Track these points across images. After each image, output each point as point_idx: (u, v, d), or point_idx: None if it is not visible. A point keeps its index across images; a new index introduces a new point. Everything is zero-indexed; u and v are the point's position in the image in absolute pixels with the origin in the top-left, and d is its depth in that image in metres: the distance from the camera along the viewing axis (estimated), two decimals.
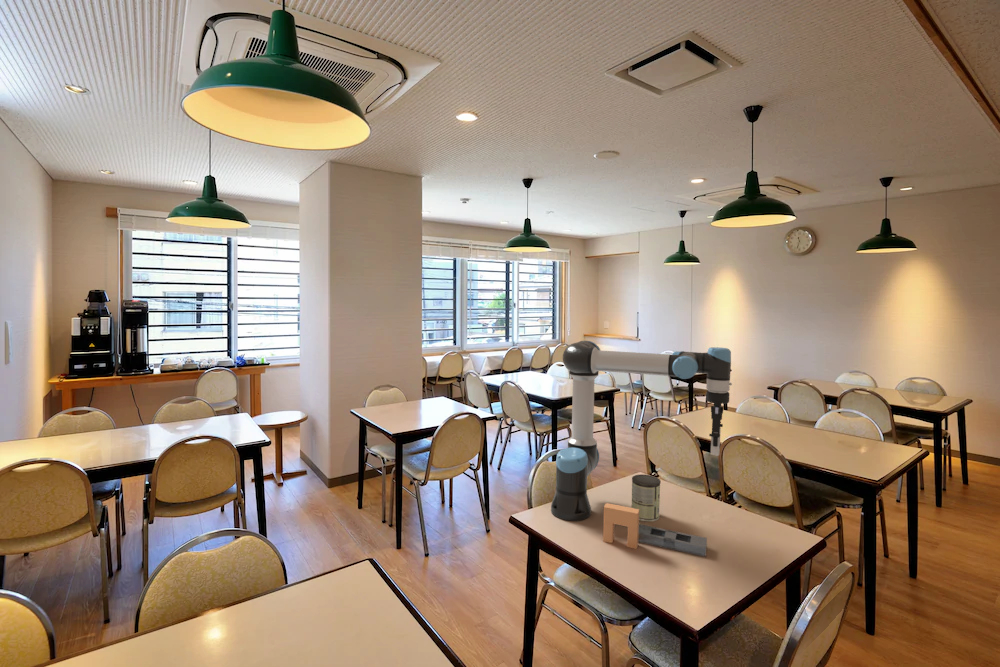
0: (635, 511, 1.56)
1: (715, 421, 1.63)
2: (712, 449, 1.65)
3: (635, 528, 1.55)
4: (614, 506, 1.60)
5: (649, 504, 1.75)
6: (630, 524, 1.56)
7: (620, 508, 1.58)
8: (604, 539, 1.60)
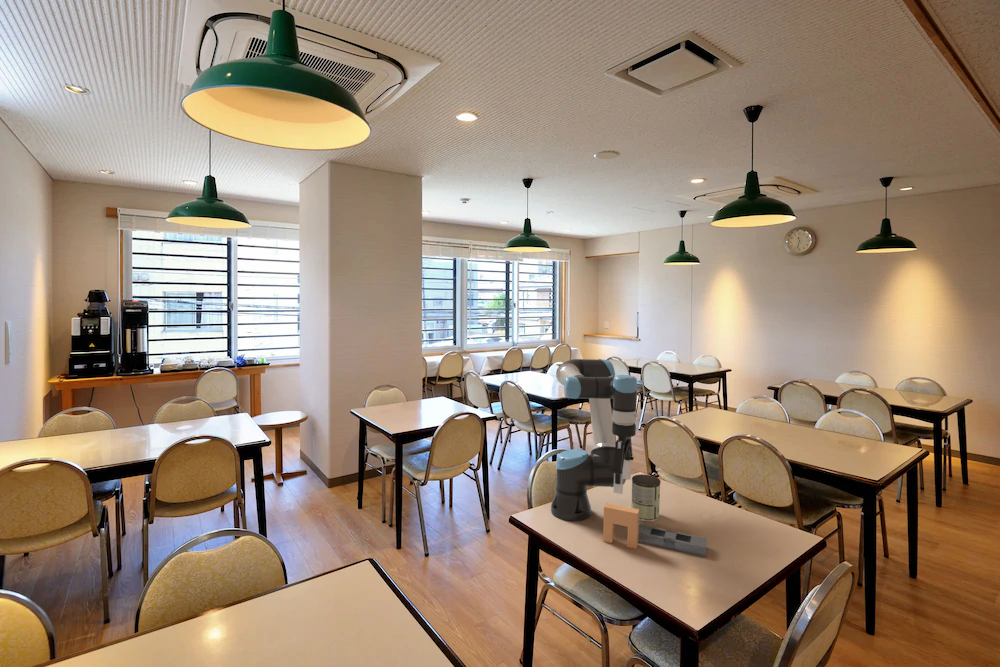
0: (635, 511, 1.56)
1: (617, 457, 1.50)
2: (615, 487, 1.52)
3: (635, 528, 1.55)
4: (614, 506, 1.60)
5: (649, 504, 1.75)
6: (630, 524, 1.56)
7: (620, 508, 1.58)
8: (604, 539, 1.60)
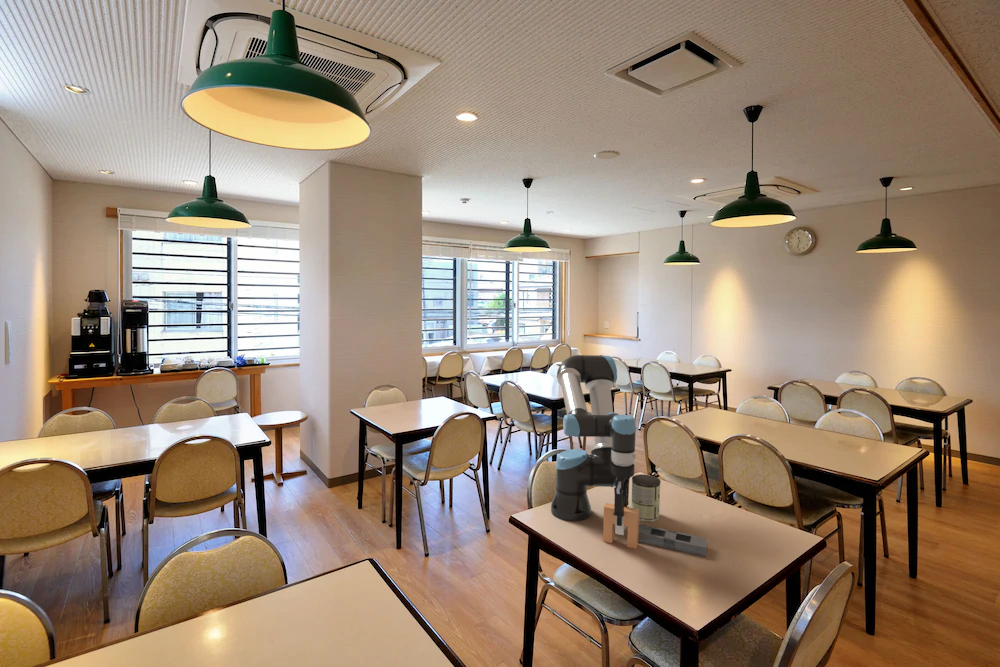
0: (635, 511, 1.56)
1: (617, 502, 1.53)
2: (617, 528, 1.57)
3: (635, 528, 1.55)
4: None
5: (649, 504, 1.75)
6: (630, 524, 1.56)
7: None
8: (604, 539, 1.60)
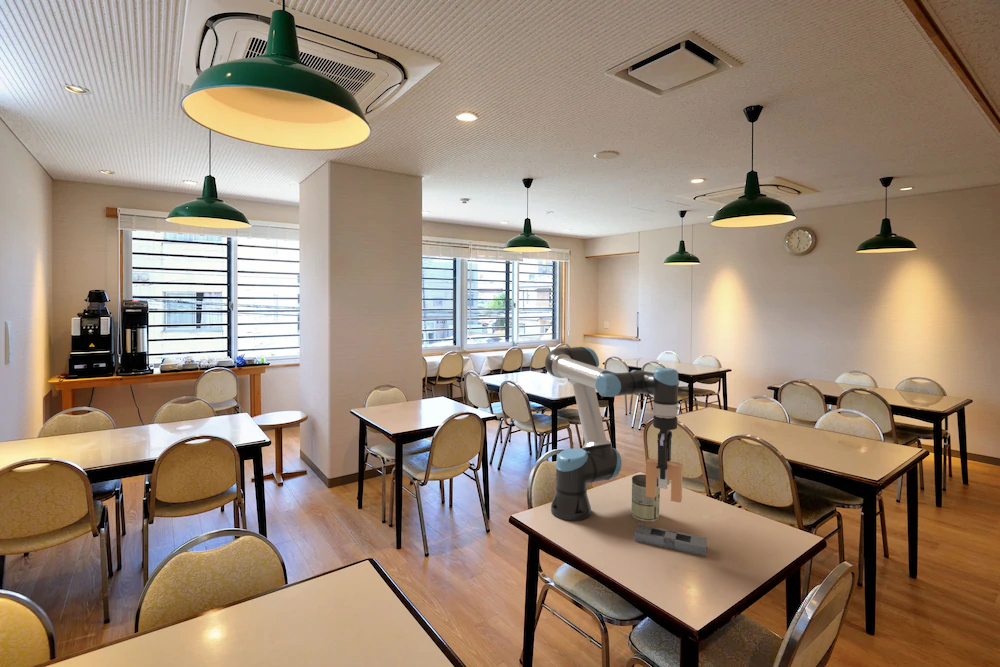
0: (679, 464, 1.54)
1: (661, 454, 1.52)
2: (660, 482, 1.55)
3: (679, 481, 1.53)
4: (656, 460, 1.58)
5: (649, 504, 1.75)
6: (674, 477, 1.54)
7: None
8: (647, 494, 1.58)
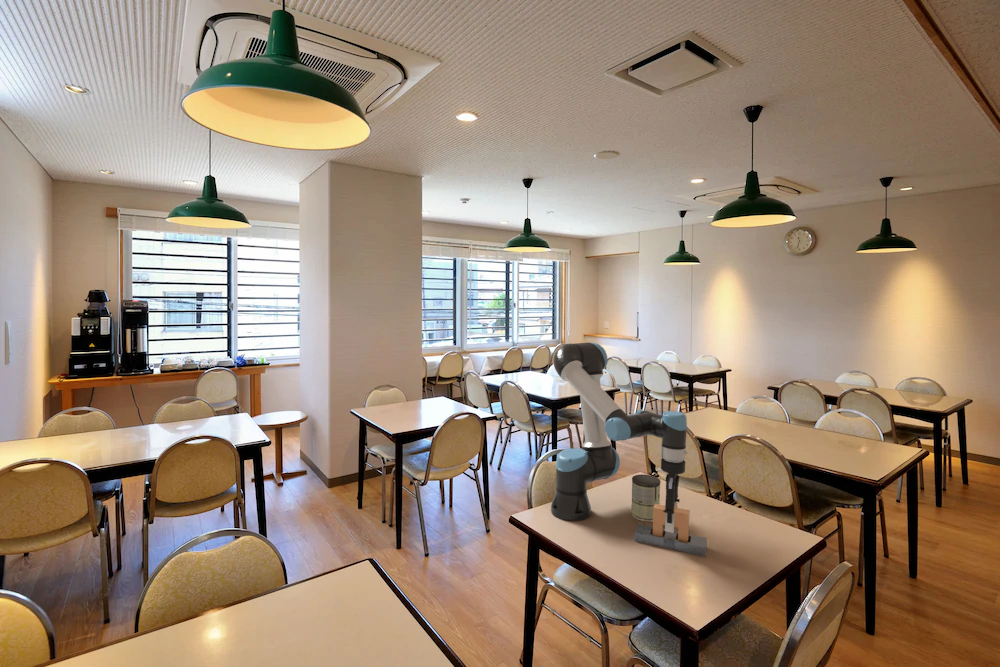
0: (686, 512, 1.56)
1: (669, 497, 1.52)
2: (666, 525, 1.55)
3: (686, 529, 1.55)
4: (664, 507, 1.60)
5: (649, 504, 1.75)
6: (681, 525, 1.56)
7: None
8: None
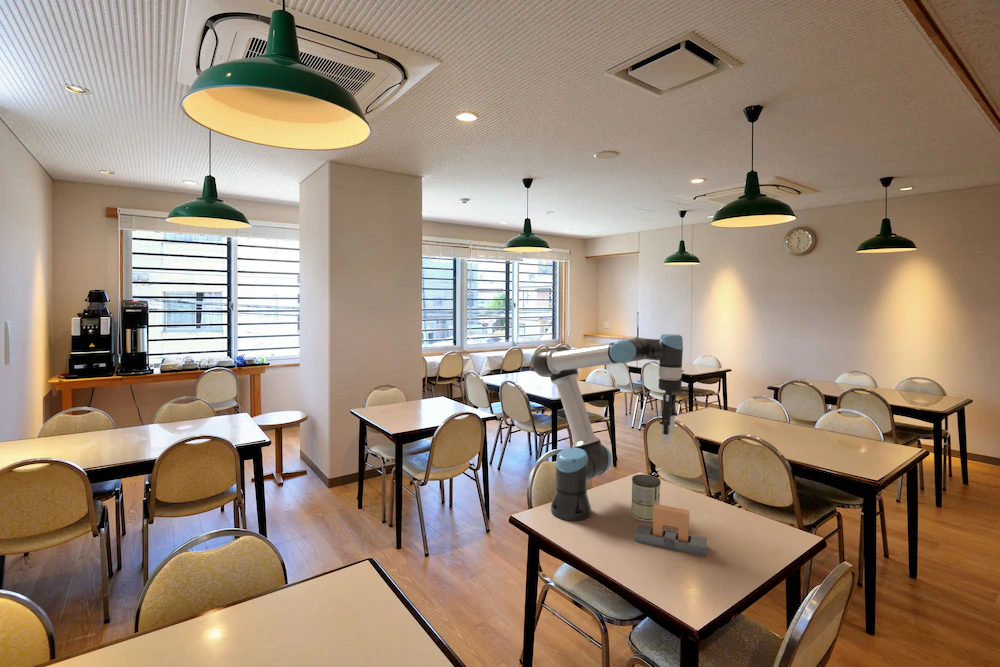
0: (686, 512, 1.56)
1: (665, 409, 1.60)
2: (663, 437, 1.62)
3: (686, 529, 1.55)
4: (664, 507, 1.60)
5: (649, 504, 1.75)
6: (681, 525, 1.56)
7: (670, 509, 1.58)
8: None
